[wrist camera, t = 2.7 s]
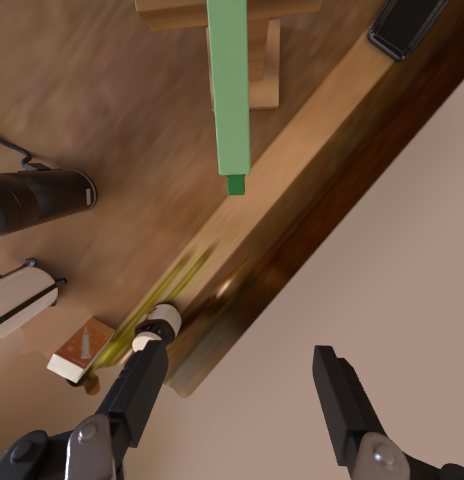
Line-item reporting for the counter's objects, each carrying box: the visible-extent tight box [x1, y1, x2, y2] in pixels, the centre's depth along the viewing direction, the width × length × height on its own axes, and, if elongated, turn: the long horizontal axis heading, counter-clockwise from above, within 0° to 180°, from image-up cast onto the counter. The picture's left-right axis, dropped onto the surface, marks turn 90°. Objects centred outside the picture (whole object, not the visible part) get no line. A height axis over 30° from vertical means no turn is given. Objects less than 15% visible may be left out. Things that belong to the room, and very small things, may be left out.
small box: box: [47, 317, 116, 383], centre depth 57 cm, size 8×6×13 cm
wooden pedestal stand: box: [135, 0, 323, 114], centre depth 23 cm, size 14×12×32 cm
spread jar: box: [132, 303, 181, 352], centre depth 54 cm, size 12×11×12 cm
